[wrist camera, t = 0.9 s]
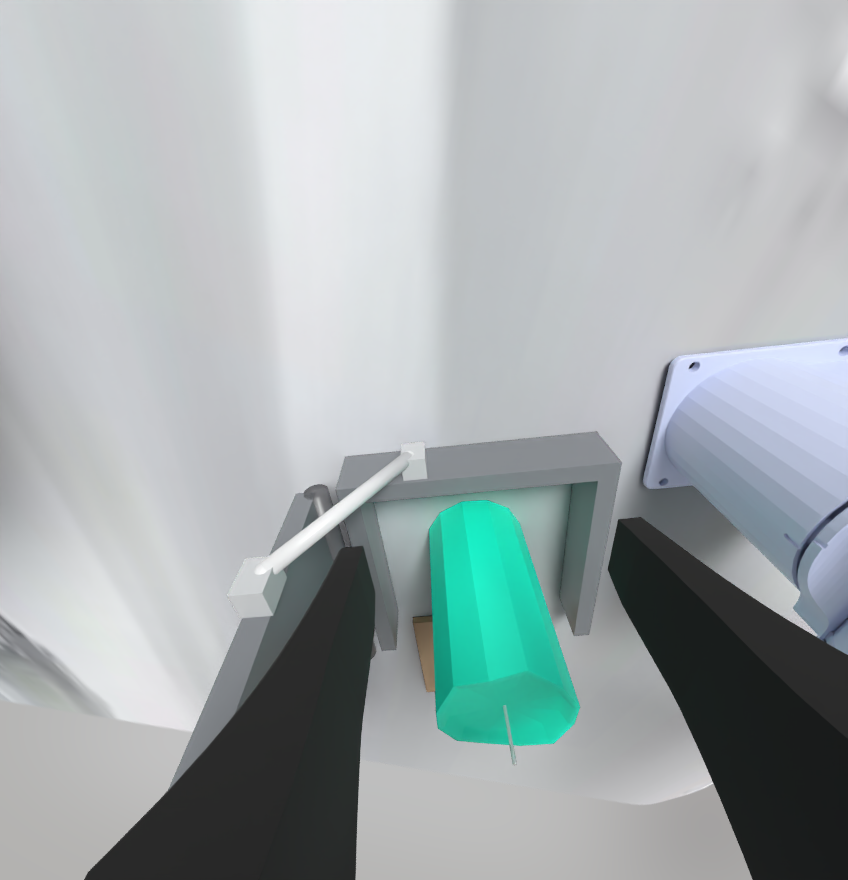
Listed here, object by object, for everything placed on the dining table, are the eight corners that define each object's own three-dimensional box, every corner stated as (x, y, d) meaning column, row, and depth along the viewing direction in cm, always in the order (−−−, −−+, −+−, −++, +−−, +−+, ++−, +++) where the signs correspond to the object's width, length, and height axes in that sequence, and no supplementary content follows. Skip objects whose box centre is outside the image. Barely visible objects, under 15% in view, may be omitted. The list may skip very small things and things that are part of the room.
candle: (539, 531, 25) (627, 758, 14) (474, 578, 27) (509, 805, 17) (474, 483, 23) (521, 709, 12) (409, 539, 25) (403, 769, 15)
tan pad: (545, 606, 29) (547, 612, 28) (539, 677, 34) (540, 683, 33) (412, 617, 29) (413, 623, 29) (426, 686, 34) (426, 692, 34)
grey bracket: (600, 409, 20) (1072, 920, 6) (573, 595, 28) (742, 1011, 13) (302, 440, 21) (36, 966, 6) (357, 613, 29) (295, 1027, 14)
